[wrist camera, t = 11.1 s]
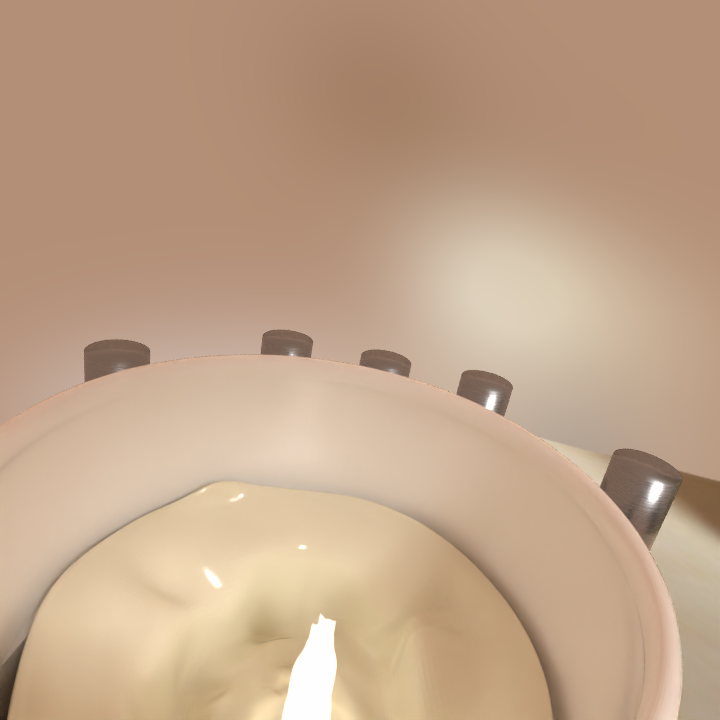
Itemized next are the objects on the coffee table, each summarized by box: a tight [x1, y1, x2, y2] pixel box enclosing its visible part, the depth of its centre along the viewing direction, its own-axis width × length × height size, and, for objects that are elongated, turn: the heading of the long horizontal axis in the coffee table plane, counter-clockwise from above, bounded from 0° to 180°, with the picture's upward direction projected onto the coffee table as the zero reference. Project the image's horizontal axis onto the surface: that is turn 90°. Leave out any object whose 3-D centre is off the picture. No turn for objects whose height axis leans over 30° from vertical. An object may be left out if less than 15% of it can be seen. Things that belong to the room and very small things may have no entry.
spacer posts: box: [84, 330, 682, 551], centre depth 31 cm, size 29×10×7 cm, turn 81°
